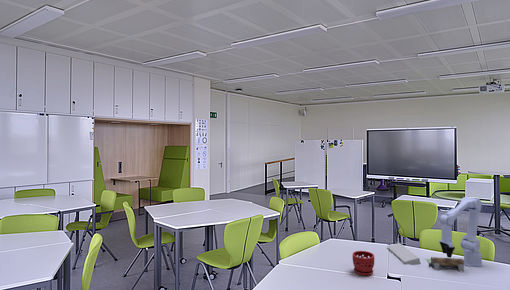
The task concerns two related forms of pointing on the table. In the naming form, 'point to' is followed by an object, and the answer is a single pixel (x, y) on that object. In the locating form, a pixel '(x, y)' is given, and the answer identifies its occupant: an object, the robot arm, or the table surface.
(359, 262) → the plant pot
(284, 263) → the table surface
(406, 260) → the decorative molding
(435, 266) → the standards
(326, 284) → the table surface
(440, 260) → the rail
